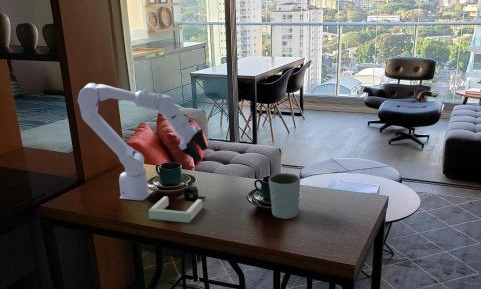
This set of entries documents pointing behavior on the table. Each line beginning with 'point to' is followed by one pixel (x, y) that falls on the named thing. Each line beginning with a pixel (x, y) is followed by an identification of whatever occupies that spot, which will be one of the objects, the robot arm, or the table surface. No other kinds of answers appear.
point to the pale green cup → (284, 195)
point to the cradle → (172, 215)
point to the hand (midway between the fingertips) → (202, 154)
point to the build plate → (190, 194)
